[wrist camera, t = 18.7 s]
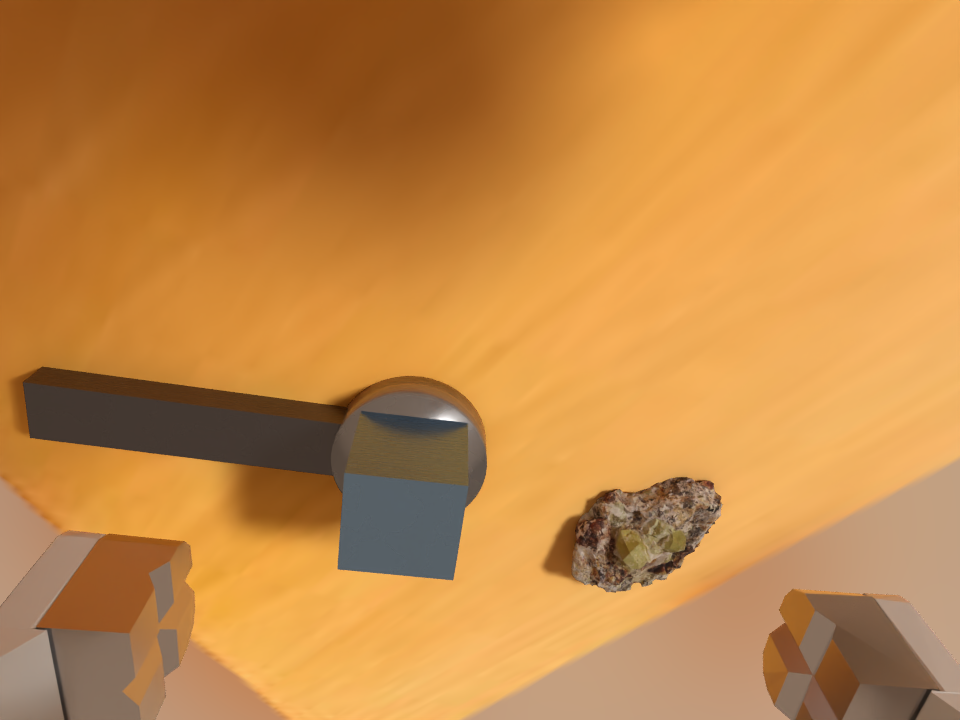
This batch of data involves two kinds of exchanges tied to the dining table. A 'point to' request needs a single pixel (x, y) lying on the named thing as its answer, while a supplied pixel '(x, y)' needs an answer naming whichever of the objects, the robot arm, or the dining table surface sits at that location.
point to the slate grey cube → (404, 496)
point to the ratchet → (234, 420)
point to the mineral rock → (643, 533)
